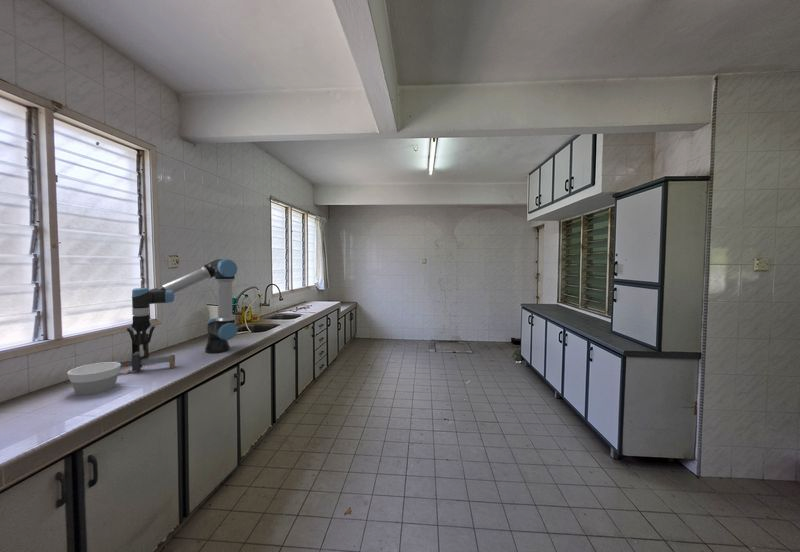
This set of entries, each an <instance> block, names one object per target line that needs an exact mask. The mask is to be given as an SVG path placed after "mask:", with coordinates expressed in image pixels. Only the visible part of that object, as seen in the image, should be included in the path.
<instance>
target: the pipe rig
mask: <svg viewBox="0 0 800 552" xmlns="http://www.w3.org/2000/svg"><path fill="white" fill-rule="evenodd" d="M109 362H118V363H120V364H121V366H120V368H128V367H132V358H131V359H130V358H128V359H122V360H110V361H109ZM163 363H169V365H168V366H169V370H173V369H175V367H176V355H175V354H170V355H164V356H163V355H162V356H155V357H154V356H152V357H149V358H141V359H140V365H144V366H145V365H152V364H153V365H154V364H163ZM131 371H132V369H128V370H127V371H126V372H125V373H124V374H123V376H127V375H128V374H129V373H130V372H131Z"/></svg>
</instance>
